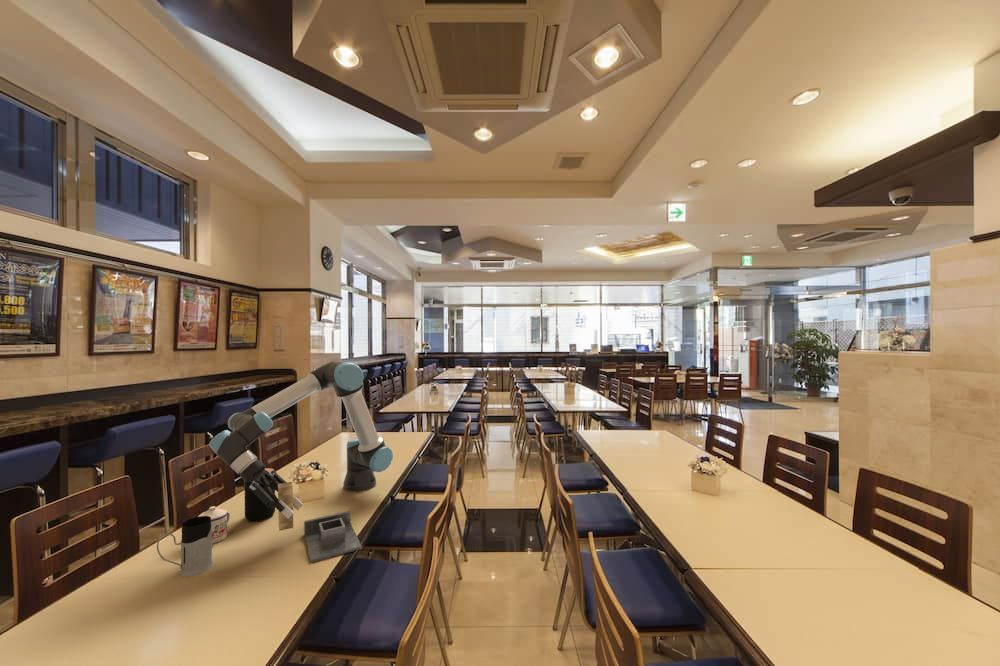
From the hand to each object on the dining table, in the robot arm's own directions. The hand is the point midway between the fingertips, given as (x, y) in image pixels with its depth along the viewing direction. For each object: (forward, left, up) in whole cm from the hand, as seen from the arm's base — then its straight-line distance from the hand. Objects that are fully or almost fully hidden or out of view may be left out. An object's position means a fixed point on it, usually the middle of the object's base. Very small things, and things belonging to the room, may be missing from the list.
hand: (295, 511), depth 144 cm
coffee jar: (+11, -31, -11) cm, 35 cm away
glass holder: (+31, +2, -11) cm, 33 cm away
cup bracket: (-11, +6, -11) cm, 17 cm away
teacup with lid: (+25, -20, -11) cm, 34 cm away
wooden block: (+3, -2, -6) cm, 7 cm away
